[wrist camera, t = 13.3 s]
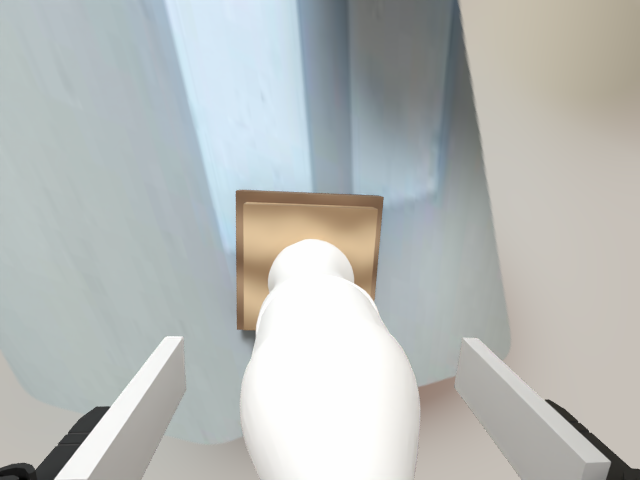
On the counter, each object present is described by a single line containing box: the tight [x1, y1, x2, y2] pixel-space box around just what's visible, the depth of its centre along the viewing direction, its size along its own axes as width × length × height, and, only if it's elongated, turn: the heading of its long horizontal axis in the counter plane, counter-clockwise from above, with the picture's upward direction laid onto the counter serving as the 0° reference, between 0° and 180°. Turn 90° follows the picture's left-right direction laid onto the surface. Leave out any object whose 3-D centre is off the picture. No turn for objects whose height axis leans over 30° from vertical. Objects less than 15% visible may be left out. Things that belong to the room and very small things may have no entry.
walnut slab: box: [236, 190, 383, 330], centre depth 32 cm, size 14×14×2 cm
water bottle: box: [240, 239, 420, 480], centre depth 17 cm, size 7×7×25 cm
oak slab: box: [243, 202, 378, 330], centre depth 30 cm, size 12×12×2 cm
